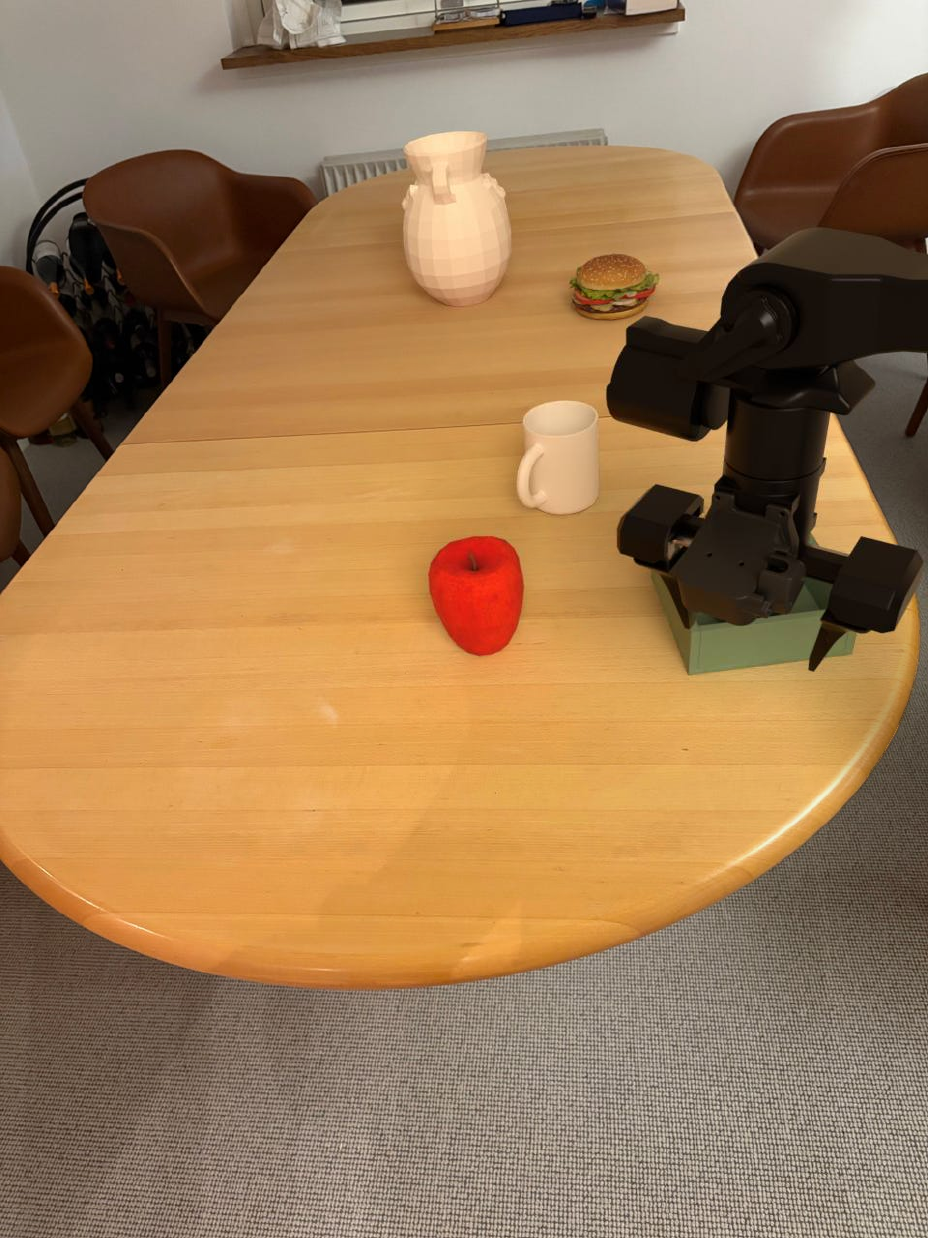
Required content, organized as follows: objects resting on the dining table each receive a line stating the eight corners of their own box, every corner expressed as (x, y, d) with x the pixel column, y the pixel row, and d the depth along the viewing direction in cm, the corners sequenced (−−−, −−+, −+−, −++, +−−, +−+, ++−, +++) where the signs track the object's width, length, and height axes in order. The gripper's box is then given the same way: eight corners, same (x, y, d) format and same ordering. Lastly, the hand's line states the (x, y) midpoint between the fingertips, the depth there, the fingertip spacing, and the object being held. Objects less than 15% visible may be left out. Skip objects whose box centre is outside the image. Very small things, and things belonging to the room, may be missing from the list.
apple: (478, 600, 90) (466, 512, 83) (547, 630, 86) (541, 539, 79) (421, 650, 85) (403, 561, 79) (492, 684, 81) (479, 592, 74)
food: (671, 312, 140) (673, 261, 135) (587, 330, 139) (586, 279, 134) (638, 285, 151) (639, 236, 146) (560, 301, 149) (558, 252, 144)
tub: (794, 558, 90) (800, 516, 86) (852, 654, 78) (862, 610, 75) (651, 577, 90) (652, 536, 87) (688, 675, 79) (691, 633, 75)
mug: (550, 541, 97) (545, 459, 90) (494, 518, 101) (484, 439, 95) (614, 490, 103) (613, 410, 96) (557, 471, 108) (553, 393, 101)
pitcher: (426, 279, 165) (404, 131, 149) (523, 274, 161) (512, 121, 145) (401, 319, 151) (374, 160, 135) (506, 315, 147) (492, 151, 131)
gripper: (571, 485, 54) (579, 669, 64) (892, 571, 44) (843, 772, 54) (656, 406, 60) (651, 585, 70) (952, 466, 51) (898, 663, 61)
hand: (749, 646), depth 64 cm, fingers open, 9 cm apart
